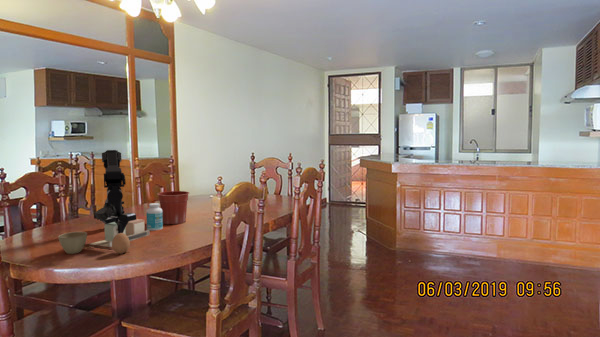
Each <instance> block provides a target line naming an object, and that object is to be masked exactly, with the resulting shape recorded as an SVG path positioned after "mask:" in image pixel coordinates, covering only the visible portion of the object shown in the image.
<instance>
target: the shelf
mask: <svg viewBox="0 0 600 337" xmlns="http://www.w3.org/2000/svg"><path fill="white" fill-rule="evenodd" d="M150 231H151V230H147V229H145V231H143V232H139V233H136V234H133V235H129V236H127V237H128V238H129V241H130V242H132V241H135V240H140V239H142V238H144V237H148V236H150V234H151V233H150ZM112 241H113V240H112ZM112 241H105V239H103V240H98V241H95V242H92V243H91V242H90V245H89V248H94V249H103V250H107V251H112V250H113V248H112ZM99 246H100V247H99ZM106 247H107V248H106Z"/></svg>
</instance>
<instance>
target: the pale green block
mask: <svg viewBox="0 0 600 337" xmlns="http://www.w3.org/2000/svg"><path fill="white" fill-rule="evenodd" d="M103 226H104V227H103V228H105V229H104V240H105V241H112V240H113V239H114V237H115V236H116V235H117V234H118V225H117V224H116V223H115V222H112V223H108V224H105V223H104V225H103ZM123 233H124V234H125V235H126V227H125V229H124V231H123Z"/></svg>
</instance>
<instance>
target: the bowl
mask: <svg viewBox="0 0 600 337" xmlns="http://www.w3.org/2000/svg"><path fill="white" fill-rule="evenodd" d="M87 238H88V232H85V231H72V232H66V233H62V234H60V235H58V241H59V244H60V246H61V248H62V249H63V250H64V251H65V254H68V255H75V254H79V253H80V252H82V250H83V248H84V247H85V244H86V241H87Z"/></svg>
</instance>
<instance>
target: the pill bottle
mask: <svg viewBox="0 0 600 337" xmlns="http://www.w3.org/2000/svg"><path fill="white" fill-rule="evenodd" d="M148 206H149V207H148V208H147V209H146V211H145V212H146V230H149V231H160V230H163V228H164V226H163V225H164V223H163V215H162V209H161V207H160V202H159V203H158V202H154V203H152V202H151V203H149V204H148Z"/></svg>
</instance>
